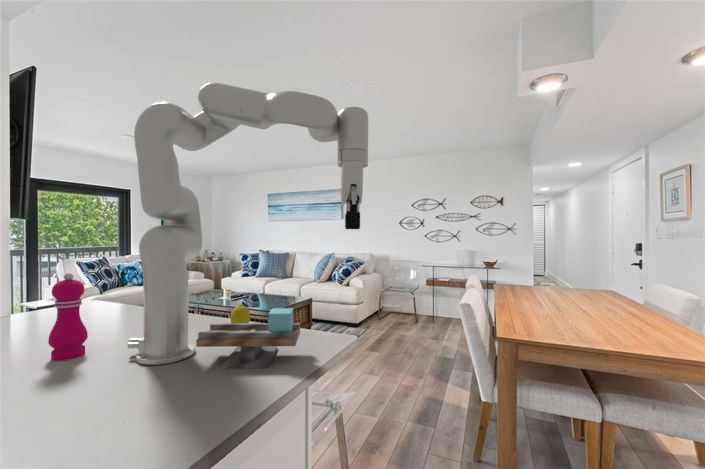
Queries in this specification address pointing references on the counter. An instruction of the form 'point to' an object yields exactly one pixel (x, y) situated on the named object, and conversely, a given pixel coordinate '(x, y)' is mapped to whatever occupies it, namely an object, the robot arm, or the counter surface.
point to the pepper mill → (68, 320)
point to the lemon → (240, 315)
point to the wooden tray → (247, 342)
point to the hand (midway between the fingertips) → (352, 229)
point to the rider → (281, 320)
